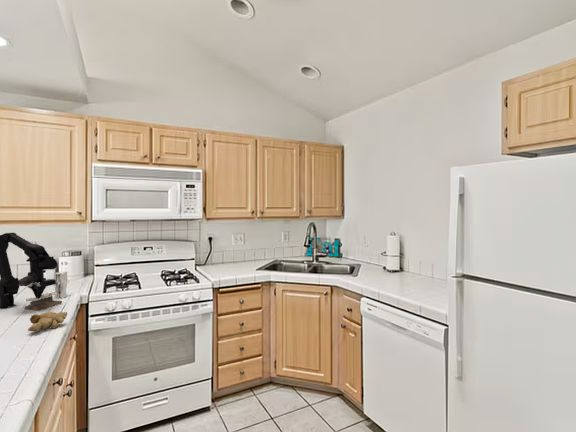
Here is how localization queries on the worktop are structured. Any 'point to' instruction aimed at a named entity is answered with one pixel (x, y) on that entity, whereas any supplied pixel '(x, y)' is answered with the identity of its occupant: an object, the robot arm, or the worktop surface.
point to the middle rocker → (44, 295)
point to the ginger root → (46, 320)
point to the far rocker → (51, 294)
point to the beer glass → (60, 284)
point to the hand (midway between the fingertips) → (38, 298)
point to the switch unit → (42, 304)
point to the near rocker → (33, 299)
